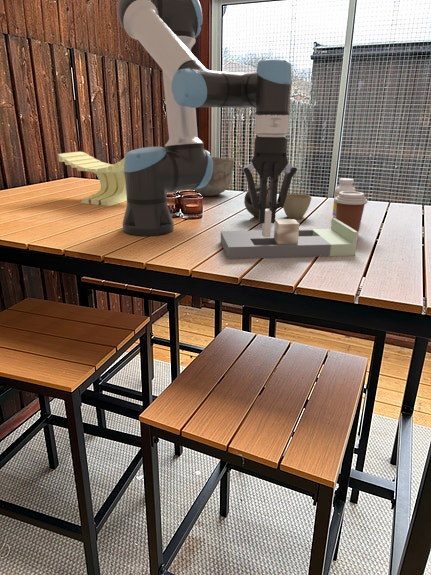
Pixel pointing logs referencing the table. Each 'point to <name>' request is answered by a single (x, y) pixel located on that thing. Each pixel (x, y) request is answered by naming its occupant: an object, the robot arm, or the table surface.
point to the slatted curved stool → (100, 177)
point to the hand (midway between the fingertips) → (266, 235)
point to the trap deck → (309, 244)
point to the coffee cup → (350, 208)
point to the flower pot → (296, 205)
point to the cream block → (286, 231)
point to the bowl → (218, 177)
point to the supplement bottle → (344, 185)
